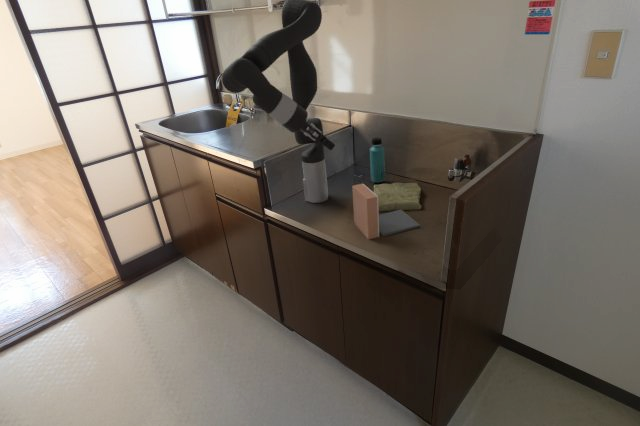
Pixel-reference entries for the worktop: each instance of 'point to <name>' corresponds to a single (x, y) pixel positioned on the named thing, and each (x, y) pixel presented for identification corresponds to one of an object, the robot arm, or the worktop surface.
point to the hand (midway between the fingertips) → (331, 146)
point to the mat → (395, 222)
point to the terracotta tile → (366, 210)
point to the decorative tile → (398, 196)
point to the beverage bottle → (377, 161)
